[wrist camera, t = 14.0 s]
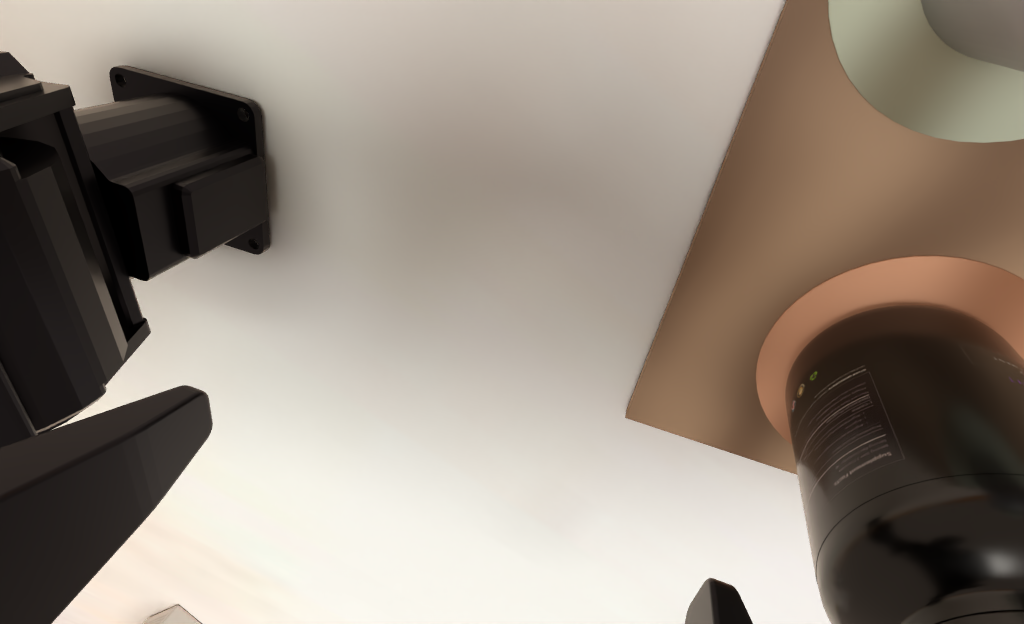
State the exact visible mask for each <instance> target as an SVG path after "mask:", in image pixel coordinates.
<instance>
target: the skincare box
mask: <svg viewBox="0 0 1024 624" xmlns="http://www.w3.org/2000/svg"><path fill="white" fill-rule="evenodd" d="M143 624H201V623H200V622H199V621H197V620H196V619H195V618H194V617H192V616H191V615H190V614H189V613H188V612H187V611H186V610H184V609H183V608H182V607H180V606H179V605H176V606H174V607H172V608H170V609H168V610H165V611H163V612H161V613H159V614H156V615H154V616H152V617H149V618H148V619H147V620H146V621H145V622H144V623H143Z"/></svg>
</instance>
